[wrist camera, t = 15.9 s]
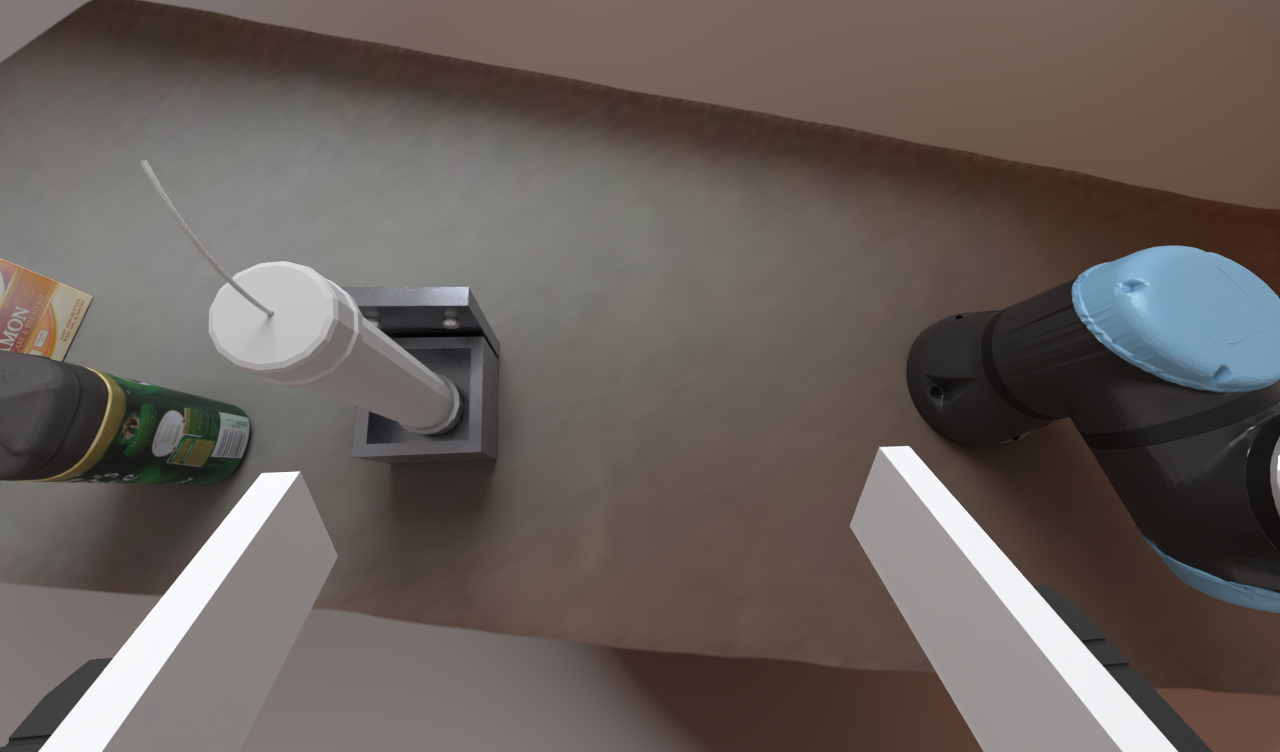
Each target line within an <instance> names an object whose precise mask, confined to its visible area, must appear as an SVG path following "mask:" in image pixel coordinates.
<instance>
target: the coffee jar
mask: <svg viewBox="0 0 1280 752" xmlns="http://www.w3.org/2000/svg"><path fill="white" fill-rule="evenodd" d="M249 437H250V421H249V418H248V416H247V415H246V413H245V412H244V411H243V410H241V409H240V408H238V407H236V406H234V405H231V404H227V403H224V402H220V401H216V400H212V399H208V398H204V397H200V396H196V395H191V394H187V393H183V392H179V391H175V390H171V389H167V388H163V387H159V386H155V385H151V384H147V383H143V382H139V381H135V380H131V379H127V378H123V377H119V376H115V375H111V374H108V373H104V372H100V371H97V370H93V369H89V368H86V367H82V366H78V365H74V364H70V363H66V362H62V361H57V360H52V359H51V358H49V357H48V356H40V355H32V354H25V353H18V352H10V351H4V350H0V480H5V481H33V482H68V483H140V484H144V483H145V484H188V485H205V484H213V483H216V482H219V481H221V480H224V479H225V478H227V477H228V476H229V475H230V474H232V473H233V472H234V471H235V469H236V468H237V466H238V465H239V463H240V461H241V460H242V458H243V456H244V453H245V451H246V449H247V446H248V442H249Z"/></svg>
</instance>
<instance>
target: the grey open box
mask: <svg viewBox="0 0 1280 752" xmlns="http://www.w3.org/2000/svg"><path fill="white" fill-rule="evenodd" d="M340 288H341V289H343V290H344V291H345V292H347V293H348V294H349V295H350V296H352V297H353V299H354V301H355V303H356V304H357V306H358V308H359V310H360V312H361V314H362V316H363V317H364V318H365V319H367V320H368V321H369V322H370V323H372V324H373V325H374V326H375V327H377V328H378V329H379V330H381V331H382V332H383V333H384V334H386V335H387V336H388V337H389V338H391V339H392V340H393V341H394V342H396V343H397V344H398V345H399V346H401V347H402V348H403V349H404V350H406V351H407V352H408V353H409V354H411V355H412V356H413V357H414V358H416V359H417V360H418V361H419V362H421V363H422V364H423V365H424V366H426V367H427V368H428V369H429V370H431V371H432V372H434V373H438V374H442V375H444V376H445V377H447V378H448V379H449V380H451V381H452V382H453V383H454V384H455V386H456V387H457V388H458V390H459V392H460V393H461V395H462V397H463V405H464V409H463V412H462V415H461V419H460V420H459V421H458V423H457V424H456V425H455V426H454V427H453V428H452V429H451V430H449V431H447V432H445V433H443V434H440V435H433V436H428V435H420V434H416V433H412V432H409V431H408V430H407V429H405V428H404V427H403V426H401V425H400V424H399V422H397V421H394V420H392V419H389V418H386V417H384V416H381V415H378V414H376V413H373V412H370V411H368V410H365V409H363V408H360V407H357V406H356V417H355V428H354V440H353V452H352V457H354V458H359V459H365V460H371V461H377V462H383V463H389V464H396V463H419V462H442V461H465V460H488V459H497V442H498V381H499V361H498V359H497V358H496V357H499V342H498V340H497V338H496V336H495V334H494V333H493V331H492V329H491V327H490V325H489V323H488V322H487V320H486V318H485V316H484V314H483V312H482V311H481V309H480V307H479V305H478V303H477V301H476V300H475V298H474V296H473V294H472V292H471V290H470V289H469V287H340Z"/></svg>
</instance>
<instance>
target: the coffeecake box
mask: <svg viewBox="0 0 1280 752" xmlns="http://www.w3.org/2000/svg"><path fill="white" fill-rule="evenodd" d="M92 298H93V297H92V296H90V295H87V294H85V293H83V292H80V291H78V290H76V289H73V288H71V287H69V286H66V285H64V284H61V283H59V282H57V281H54V280H52V279H49V278H47V277H45V276H42V275H40V274H37V273H35V272H33V271H30V270H28V269H25V268H23V267H21V266H18V265H16V264H13V263H11V262H8V261H6V260H3V259H1V258H0V350H4V351H10V352H18V353H25V354H32V355H40V356H48V357H49V358H51V359H52V360H57V361H62V360H63V358H64V356H65V354H66V352H67V350H68V348H69V346H70V344H71V342H72V340H73V338H74V336H75V333H76V331H77V329H78V327H79V325H80V323H81V321H82V319H83V317H84V315H85V313H86V310H87V308H88V306H89V304H90V302H91V300H92Z"/></svg>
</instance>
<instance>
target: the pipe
mask: <svg viewBox="0 0 1280 752" xmlns="http://www.w3.org/2000/svg"><path fill="white" fill-rule="evenodd" d="M140 163H141V165H142V167H143V169H144V170H145V172H146V174H147V176H148V178H149V179H150V181H151V183H152V184H153V186H154V188H155V190H156V191H157V193H158V194H159V196H160V198H161V199H162V201H163V202H164V204H165V205H166V207H167V208H168V210H169V212H170V213H171V214H172V216H173V217H174V219H175V220H176V221H177V223H178V224H179V226H180V227H181V229H182V230H183V231H184V233H185V234H186V235H187V236H188V238H189V239H190V240H191V242H192V243H193V244H194V246H195V247H196V248H197V249H198V250H199V252H200V253H201V254H202V255H203V256H204V258H205V259H206V260H207V261H208V262H209V263H210V264H211V265H212V266H213V268H214V269H215V270H216V271H217V272H218V273H219V274H220V275H221V276H222V277H223V278H224V279H225V280H226V281H227V283H226V284H225V285H224V286H223V287H222V288H221V289H220V290H219V292H218V294H217V296H216V298H215V300H214V302H213V304H212V306H211V308H210V310H209V334H210V336H211V338H212V340H213V342H214V344H215V346H216V348H217V350H218V352H219V353H220V355H222V356H223V357H224V358H225V359H227V360H228V361H229V362H231V363H232V364H233V365H235V366H236V367H237V368H239V369H242V370H244V371H247V372H250V373H253V374H254V375H256V376H257V377H258V378H260V379H261V380H263V381H266V382H269V383H273V384H277V385H281V386H285V387H289V388H297V387H307V388H310V389H313V390H315V391H318V392H321V393H323V394H326V395H328V396H331V397H334V398H336V399H339V400H342V401H344V402H347V403H349V404H352V405H355V406H357V407H360V408H363V409H365V410H368V411H370V412H373V413H376V414H378V415H381V416H384V417H386V418H389V419H392V420H394V421H397V422H399V424H400V425H401V426H403V427H404V428H405V429H407V430H408V431H409V432H412V433H416V434H420V435H428V436H433V435H440V434H443V433H445V432H447V431H449V430H451V429H452V428H453V427H454V426H455V425H456V424H457V423H458V421H459V420H460V419H461V415H462V412H463V409H464V405H463V397H462V395H461V393H460V392H459V390H458V388H457V387H456V386H455V384H454V383H453V382H452V381H451V380H449V379H448V378H447V377H445V376H444V375H442V374H438V373H434V372H432V371H431V370H429V369H428V368H427V367H426V366H424V365H423V364H422V363H421V362H419V361H418V360H417V359H416V358H414V357H413V356H412V355H411V354H409V353H408V352H407V351H406V350H404V349H403V348H402V347H401V346H399V345H398V344H397V343H396V342H394V341H393V340H392V339H391V338H389V337H388V336H387V335H386V334H384V333H383V332H382V331H381V330H379V329H378V328H377V327H375V326H374V325H373V324H372V323H370V322H369V321H368V320H367V319H365V318H364V317H363V316H362V314H361V312H360V310H359V308H358V306H357V304H356V303H355V301H354V299H353V297H352V296H350V295H349V294H348V293H347V292H345V291H344V290H343V289H341V288H340V287H339V286H337V285H336V284H334V283H333V282H332V281H330V280H326V279H325V278H324V277H322V276H321V275H320V274H318V273H317V272H316V271H314V270H313V269H312V268H310V267H306V266H302V265H298V264H294V263H290V262H285V261H282V262H271V263H260V264H258V265H255V266H253V267H251V268H248V269H246V270H244V271H242V272H239V273H237V274H236V275H235V276H234V277H233V278H231V277H230V276H229V275H228V274H227V273H226V272H225V271H224V270H223V269H222V268H221V267H220V266H219V264H218V263H217V262H216V261H215V260H214V259H213V258H212V257H211V256H210V254H209V253H208V252H207V251H206V249H205V248H204V247H203V246H202V245H201V243H200V242H199V241H198V239H197V238H196V237H195V236H194V234H193V233H192V232H191V230H190V229H189V228H188V226H187V225H186V223H185V222H184V220H183V219H182V218H181V216H180V215H179V213H178V212H177V210H176V209H175V207H174V206H173V204H172V203H171V201H170V199H169V198H168V196H167V195H166V193H165V192H164V190H163V188H162V186H161V185H160V183H159V181H158V180H157V178H156V176H155V174H154V173H153V171H152V169H151V167H150V165H149V163H148V161H147V160H143V161H140Z"/></svg>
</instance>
